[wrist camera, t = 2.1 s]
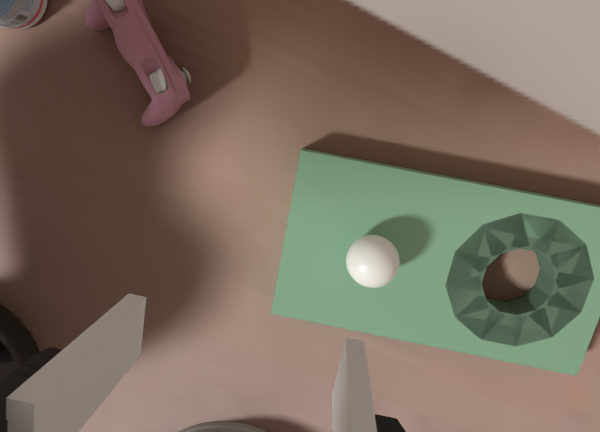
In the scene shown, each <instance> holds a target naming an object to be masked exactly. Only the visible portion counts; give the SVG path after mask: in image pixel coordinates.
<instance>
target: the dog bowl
mask: <svg viewBox="0 0 600 432" xmlns="http://www.w3.org/2000/svg"><path fill="white" fill-rule="evenodd" d="M179 432H267V431H265V430H263V429H260V428H258V427H255V426H252V425H249V424H245V423H239V422H232V421H214V422H206V423H201V424H197V425H194V426H190V427H188V428H185V429H183V430H181V431H179Z"/></svg>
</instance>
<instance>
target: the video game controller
mask: <svg viewBox="0 0 600 432" xmlns="http://www.w3.org/2000/svg"><path fill="white" fill-rule="evenodd" d="M84 22H85V25H86V27H87V28H88V29H90V30H92V31H100V30H104V29H107V28H110V27H111V29H112V31H113V34H114V39H115V42H116V45H117V48H118V50H119V52H120V53H121V55H122V56H123V57H124V59H125V60H126V61H127V62H128V63H129V64H130V65H131V66H132V67H133V68H134V70H135V71H136V73H137V75H138V77H139V79H140V80H141V82H142V84H143V86H144V87H145V89H146V90H147V92H148V93H149V95H150V96H151V102H150V104H149V106H148V107H147V109H146V110H145V112H144V113H143V114H142V118H141V123H142V124H143V125H144V126H147V127H152V126H157V125H159V124H162V123H163V122H165V121H167V120H168V119H170V118H171V117H172V116H173V115H174V114H175V113H176V112H177V111H178V110H179V109H180V107H181V106H182V105H183V104H184V102H186V101H188V100H190V93H189V90H188V87H187V85H186V80H187V82H188V83H191V77H190V74H189V72H188V71H187V70H186V69H185V68H183V67H182V71H181V70H179V69H178V67H177V65H176V64H175V62H174V61H173V60H172V58H171V57H170V56H167V55H166V53H165V51H164V49H163V47H162V45H161V43H160V41H159V39H158V37H157V35H156V34H155V32H154V30H153V28H152V26H151V24H150V23H149V17H148V15H147V12H146V10H145V7H144V4H143V2H142V0H93V2H92V3H91V5H90V7H89V8H88V10H87V12H86V14H85V17H84Z"/></svg>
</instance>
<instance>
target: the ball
mask: <svg viewBox="0 0 600 432" xmlns="http://www.w3.org/2000/svg"><path fill="white" fill-rule="evenodd" d="M346 265H347V269H348V272H349V274H350V275H351V277H352V278H353V279H354V280H355V281H356V282H357V283H359V284H361V285H363V286H365V287H370V288H377V287H382V286H384V285H386V284H388V283H389V282H391V281H392V280H393V279H394V277H395V276H396V274H397V272H398V270H399V265H400V259H399V254H398V251H397V249H396V247H395V246H394V245H393V244H392V243H391V242H390V241H389V240H388V239H386V238H384V237H382V236H379V235H366V236H363V237H361V238H359V239H357V240H356V241H355V242H354V243H353V244H352V245H351V246H350V248H349V250H348V252H347V257H346Z"/></svg>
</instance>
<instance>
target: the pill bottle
mask: <svg viewBox="0 0 600 432" xmlns="http://www.w3.org/2000/svg"><path fill="white" fill-rule="evenodd" d="M47 1H48V0H0V27H3V28H7V29H11V30H23V29H27V28H29V27H31V26H33V25H35V24H36V23H37V22H38V21H39V20H40V19H41V18H42V16H43V15H44V13H45V10H46V7H47Z"/></svg>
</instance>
